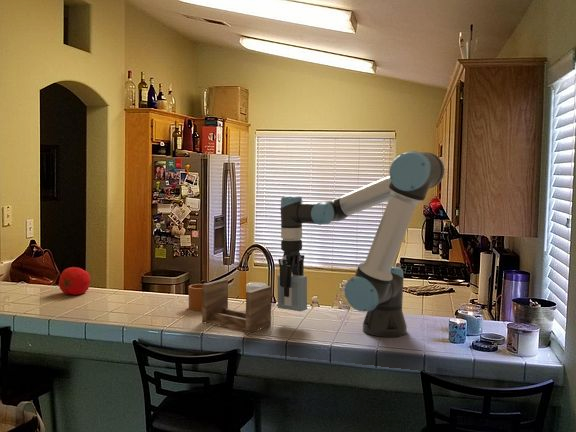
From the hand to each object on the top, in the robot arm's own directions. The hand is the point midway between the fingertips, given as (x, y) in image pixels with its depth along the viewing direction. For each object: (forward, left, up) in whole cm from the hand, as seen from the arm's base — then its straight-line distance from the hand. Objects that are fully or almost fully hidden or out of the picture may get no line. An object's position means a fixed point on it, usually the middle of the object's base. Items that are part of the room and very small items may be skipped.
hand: (292, 303), depth 211 cm
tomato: (+102, +17, -8) cm, 103 cm away
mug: (+41, +2, -8) cm, 41 cm away
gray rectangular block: (0, 0, -2) cm, 2 cm away
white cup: (+24, -10, -8) cm, 27 cm away
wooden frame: (+17, +11, -8) cm, 21 cm away
